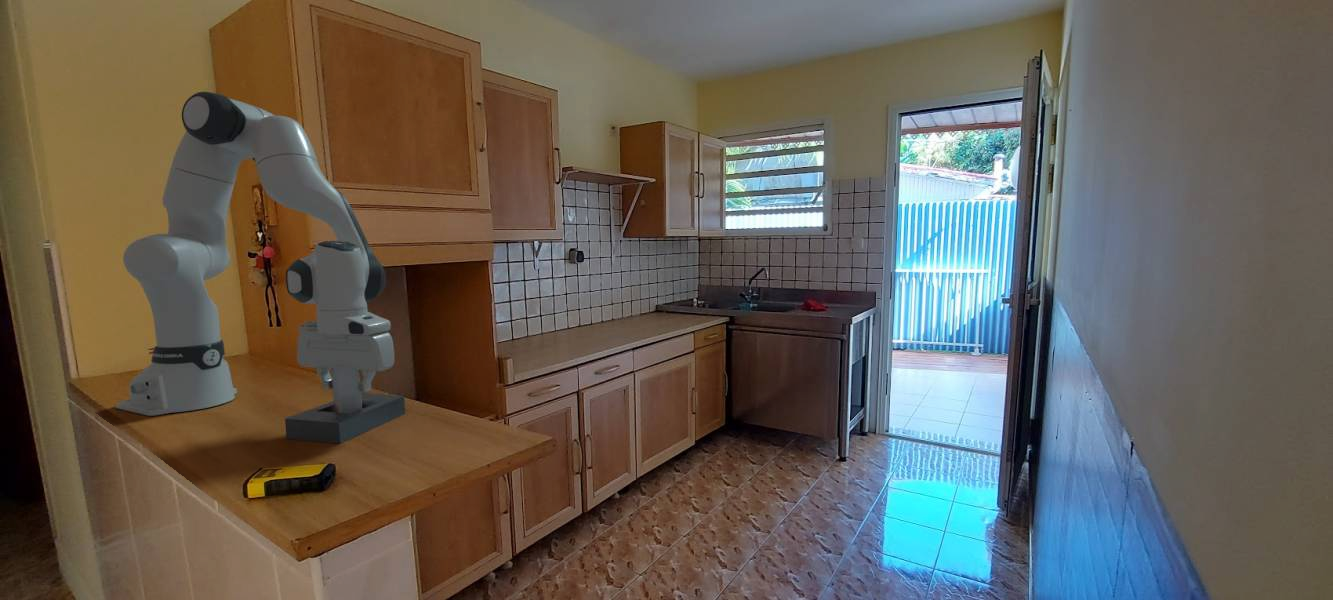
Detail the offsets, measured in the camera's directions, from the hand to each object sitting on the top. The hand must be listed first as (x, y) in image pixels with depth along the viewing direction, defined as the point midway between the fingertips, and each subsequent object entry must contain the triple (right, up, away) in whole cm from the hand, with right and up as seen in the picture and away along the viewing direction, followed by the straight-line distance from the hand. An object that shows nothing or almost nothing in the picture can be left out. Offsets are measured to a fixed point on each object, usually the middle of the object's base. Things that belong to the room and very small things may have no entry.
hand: (347, 389), depth 110 cm
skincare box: (0, -7, +1) cm, 7 cm away
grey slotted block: (0, -8, +1) cm, 8 cm away
